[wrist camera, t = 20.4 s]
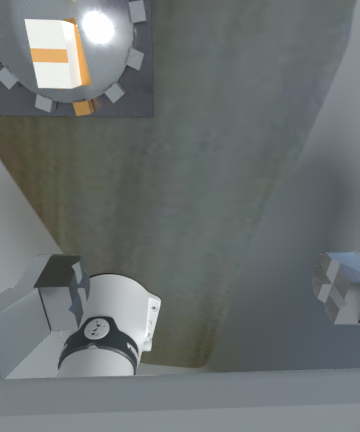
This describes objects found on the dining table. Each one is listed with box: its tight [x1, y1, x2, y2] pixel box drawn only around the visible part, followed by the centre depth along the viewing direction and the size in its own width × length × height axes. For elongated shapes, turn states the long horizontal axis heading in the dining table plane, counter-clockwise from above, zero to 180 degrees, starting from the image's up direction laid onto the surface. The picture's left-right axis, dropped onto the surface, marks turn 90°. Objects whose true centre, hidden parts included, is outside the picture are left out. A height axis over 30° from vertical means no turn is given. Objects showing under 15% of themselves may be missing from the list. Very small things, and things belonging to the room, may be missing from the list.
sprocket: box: [0, 0, 147, 116], centre depth 29 cm, size 19×19×8 cm
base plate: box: [0, 0, 154, 117], centre depth 33 cm, size 20×20×1 cm
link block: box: [24, 19, 82, 89], centre depth 30 cm, size 6×4×4 cm, turn 179°
